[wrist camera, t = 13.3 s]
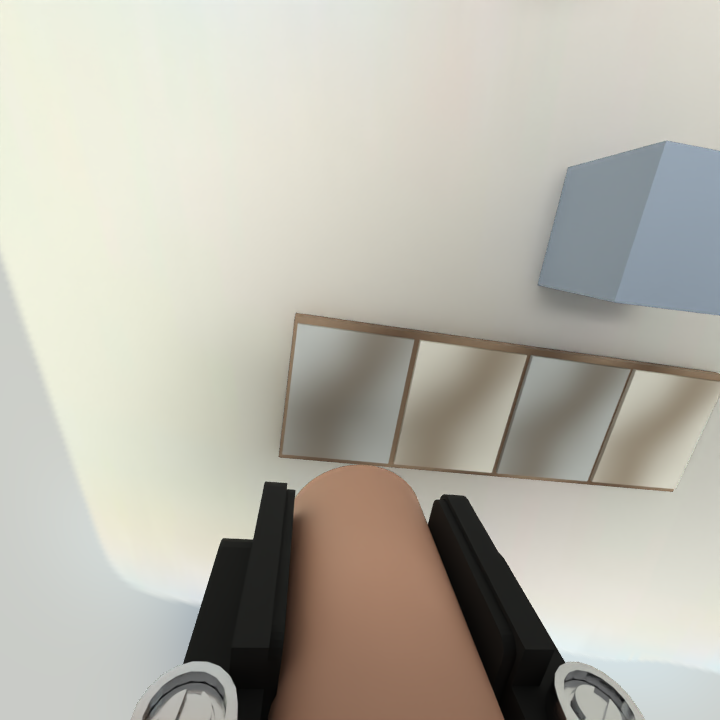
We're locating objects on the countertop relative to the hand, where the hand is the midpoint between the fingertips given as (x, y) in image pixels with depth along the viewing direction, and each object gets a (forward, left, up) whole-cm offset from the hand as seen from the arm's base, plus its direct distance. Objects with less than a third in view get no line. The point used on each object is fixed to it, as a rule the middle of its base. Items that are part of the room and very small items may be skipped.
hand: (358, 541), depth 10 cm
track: (-9, 0, -9) cm, 13 cm away
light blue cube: (-11, -9, -10) cm, 17 cm away
